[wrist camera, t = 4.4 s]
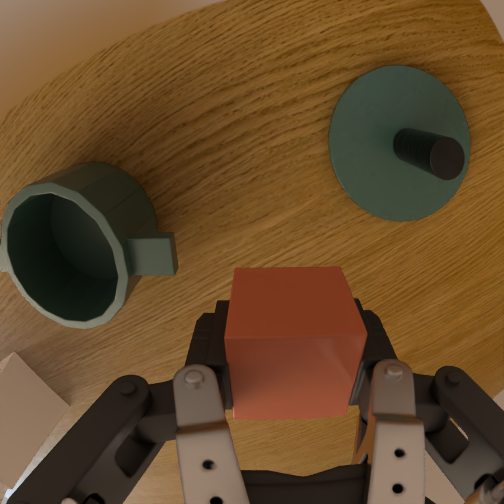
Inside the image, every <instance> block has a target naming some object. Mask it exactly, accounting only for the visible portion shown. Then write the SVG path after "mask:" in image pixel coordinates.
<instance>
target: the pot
mask: <svg viewBox="0 0 504 504" xmlns="http://www.w3.org/2000/svg"><path fill="white" fill-rule="evenodd" d="M1 223H2V224H1V239H0V272H9V274H10V277H11V278H12V280H13V281H14V283H15V285H16V286H17V288H18V289H19V291H20V292H21V294H22V295H23V297H24V298H25V299H26V300H27V301H28V302H29V303H30V304H31V305H32V306H34V307H35V308H36V309H37V310H38V311H39V312H40V313H41V314H42V315H44V316H45V317H47V318H49V319H51V320H53V321H55V322H57V323H59V324H61V325H63V326H66V327H72V328H81V329H92V328H94V327H97V326H100V325H103V324H106V323H108V322H110V321H111V320H112V319H113V318H114V316H115V315H116V314H117V313H118V312H119V310H120V309H121V308H122V307H123V306H124V304H125V302H126V301H127V299H128V298H129V296H130V294H131V293H132V291H133V290H134V288H135V286H136V285H137V283H138V282H139V280H140V279H141V277H142V275H175V274H176V272H177V270H178V268H179V267H178V260H177V252H176V245H175V237H174V232H158V229H157V221H156V216H155V212H154V209H153V206H152V204H151V202H150V200H149V198H148V196H147V195H146V193H145V191H144V190H143V189H142V187H141V186H140V185H139V184H138V183H137V182H136V181H135V180H134V179H133V178H132V177H131V176H130V175H129V174H127V173H126V172H124V171H123V170H121V169H119V168H117V167H115V166H113V165H110V164H106V163H101V162H87V163H82V164H78V165H73V166H71V167H68V168H66V169H63V170H61V171H59V172H56V173H54V174H51V175H49V176H47V177H45V178H42V179H40V180H38V181H36V182H33V183H31V184H29V185H27V186H26V187H24V188H23V189H22V190H21V191H20V192H19V193H18V194H16V195H15V196H14V197H13V198H12V199H11V200H10V201H9V204H8V206H7V209H6V212H5V214H4V217H3V220H2V222H1Z"/></svg>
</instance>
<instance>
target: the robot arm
mask: <svg viewBox="0 0 504 504" xmlns="http://www.w3.org/2000/svg"><path fill="white" fill-rule="evenodd" d="M354 301H355V303H356V305H357V308H358V310H359V313H360V315H361V318H362V320H363V323H364V326H365V328H366V331H367V339H366V343H365V347H364V351H363V355H362V358H361V361H360V365H359V369H358V373H357V376H356V380H355V384H354V387H353V391H352V394H351V397H350V401H349V406H353V405H359V409H360V412H359V415H358V419H357V427H356V436H355V444H354V452H353V458H352V463H351V465H345V466H338V467H335V468H332V469H329V470H326V471H323V472H319V473H316V474H313V475H309V476H304V477H302V476H295V475H290V474H284V473H279V472H273V471H268V470H240V467H239V463H238V459H237V456H236V452H235V448H234V444H233V440H232V437H231V433H230V429H229V425H228V423H227V421H226V417H225V409H233V405H232V396H231V387H230V378H229V369H228V362H227V359H226V349H225V340H224V337H225V330H226V323H227V316H228V310H229V303H230V300H218V301H217V304H216V309H215V313H204V314H203V315H202V316H201V317H200V318H199V319H198V320H197V321H196V325H195V329H194V332H193V336H192V340H191V344H190V347H189V351H188V355H187V359H186V362H185V366H184V367H183V368H181V369H180V370H179V371H177V372H176V374H175V375H174V378H173V379H172V380H169V381H166V382H161V383H155V384H149V385H148V383H147V381H146V380H145V379H144V378H142V377H140V376H137V375H126V376H122V377H120V378H118V379H116V380H115V381H114V382H113V383H112V384H111V385H110V386H109V387H108V388H107V389H106V390H105V391H104V392H103V393H102V395H101V396H100V397H99V398H98V399H97V400H96V401H95V402H94V403H93V404H92V406H91V407H90V408H89V409H88V410H87V411H86V412H85V413H84V414H83V416H82V417H81V418H80V419H79V420H78V421H77V422H76V423H75V424H74V425H73V427H72V428H71V429H70V430H69V431H68V432H67V433H66V434H65V435H64V437H63V438H62V439H61V440H60V441H59V442H58V443H57V444H56V446H55V447H54V448H53V449H52V450H51V451H50V452H49V453H48V454H47V456H46V457H45V458H44V459H43V460H42V461H41V462H40V463H39V465H38V466H37V467H36V468H35V469H34V470H33V471H32V473H31V474H30V475H29V476H28V477H27V478H26V479H25V480H24V482H23V483H22V484H21V485H20V486H19V487H18V488H17V490H16V491H15V492H14V493H13V494H12V495H11V496H10V498H9V499H8V501H7V503H6V504H123V502H124V501H125V499H126V498H127V497H128V495H129V494H130V492H131V491H132V490H133V488H134V487H135V485H136V484H137V482H138V481H139V480H140V478H141V477H142V475H143V474H144V473H145V471H146V470H147V468H148V467H149V465H150V464H151V462H152V461H153V460H154V458H155V457H156V455H157V454H158V452H159V451H160V449H161V448H162V446H163V445H164V444H165V442H166V441H169V440H175V439H176V447H177V455H178V463H179V470H180V477H181V484H182V491H183V497H184V504H435V503H434V502H433V501H431V500H430V499H429V498H427V497H425V450H426V451H427V452H428V454H429V455H430V456H431V457H432V459H433V460H434V462H435V463H436V464H437V465H438V467H439V468H440V469H441V471H442V472H443V473H444V474H445V476H446V477H447V478H448V480H449V481H450V482H451V484H452V485H453V486H454V488H455V489H456V490H457V492H458V493H459V494H460V495H461V497H462V498H463V499H464V501H465V503H464V504H504V411H503V410H502V409H501V408H500V407H499V406H498V405H497V404H496V403H495V402H494V401H493V400H492V399H491V398H490V397H489V396H488V395H487V394H486V393H485V392H484V391H483V390H482V389H481V388H480V387H479V386H478V385H477V384H476V383H475V382H474V381H473V380H472V379H471V378H470V377H469V376H468V375H467V374H466V373H465V372H464V371H463V370H461V369H460V368H457V367H454V366H444V367H442V368H440V369H438V371H437V372H436V374H435V376H429V375H421V374H416V373H413V372H412V370H411V368H410V367H409V366H408V365H407V364H406V363H405V362H403V361H400V360H398V359H397V356H396V354H395V352H394V350H393V347H392V345H391V343H390V340H389V338H388V336H387V335H386V332H385V329H384V328H383V325H382V323H381V321H380V318H379V317H378V316H377V315H376V314H375V313H373V312H372V311H371V310H363V308H362V306H361V303H360V301H359V299H358V298H354ZM451 417H452V419H453V420H454V421H455V422H456V423H457V424H458V425H459V427H460V428H461V429H462V430H463V431H464V432H465V433H466V435H467V437H468V440H469V441H468V440H467V439H466V438H465V436H464V435H463V434H462V433H461V432H460V431H459V429H458V428H457V427H456V426H455V425H454V424H453V423H452V421H451V420H450V419H451Z"/></svg>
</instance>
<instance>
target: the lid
mask: <svg viewBox="0 0 504 504" xmlns="http://www.w3.org/2000/svg"><path fill="white" fill-rule="evenodd" d="M328 147H329V155H330V160H331V164H332V167H333V170H334V172H335V175H336V177H337V179H338V181H339V183H340V184H341V186H342V188H343V189H344V190H345V192H346V193H347V194H348V195H349V197H350V198H351V199H352V200H353V201H354V202H355V203H356V204H357V205H358V206H360V207H361V208H362V209H364V210H365V211H367V212H369V213H370V214H372V215H374V216H376V217H379V218H382V219H385V220H390V221H398V222H404V221H413V220H418V219H421V218H424V217H427V216H429V215H431V214H433V213H434V212H436V211H437V210H439V209H440V208H442V207H443V206H444V205H445V204H446V203H447V202H448V201H449V200H450V199H451V198H452V197H453V196H454V194H455V193H456V191H457V190H458V189H459V187H460V185H461V183H462V181H463V179H464V176H465V174H466V171H467V167H468V163H469V157H470V134H469V129H468V124H467V121H466V118H465V115H464V112H463V110H462V108H461V106H460V104H459V103H458V101H457V99H456V98H455V96H454V95H453V94H452V92H451V91H450V90H449V89H448V88H447V87H446V86H445V85H444V84H443V83H442V82H441V81H439V80H438V79H437V78H436V77H434V76H432V75H431V74H429V73H427V72H425V71H422V70H420V69H417V68H414V67H410V66H402V65H391V66H385V67H380V68H377V69H374V70H371V71H369V72H367V73H365V74H363V75H361V76H360V77H359V78H357V79H356V80H355V81H353V82H352V83H351V84H350V85H349V86H348V87H347V88H346V90H345V91H344V92H343V94H342V95H341V97H340V98H339V100H338V102H337V104H336V106H335V108H334V111H333V114H332V116H331V120H330V125H329V134H328Z"/></svg>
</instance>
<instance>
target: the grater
mask: <svg viewBox="0 0 504 504" xmlns="http://www.w3.org/2000/svg"><path fill="white" fill-rule="evenodd" d="M0 369H1V370H0V504H1V502H2V500H3V497H4V495H5V493H6V490H7V488H8V489H13V488H14V486H15V484H16V483H17V481H18V480H19V478H20V477H21V475H22V474H23V472H24V471H25V469H26V468H27V466H28V465H29V463H30V462H31V460H32V459H33V458H34V456H35V455H36V453H37V452H38V450H39V449H40V447H41V446H42V444H43V443H44V442H45V440H46V439H47V437H48V436H49V434H50V433H51V432H52V430H53V429H54V427H55V426H56V425H57V423H58V422H59V420H60V419H61V418H62V416H63V415H64V413H65V412H66V411H67V409H68V408H69V407H70V406H69V405H68V404H67V403H66V402H65V401H64V400H63V399H62V398H60V397H59V396H58V395H57V394H56V393H55V392H54V391H53V390H52V389H51V388H50V387H49V386H48V385H47V384H46V383H45V382H44V381H43V380H42V379H41V378H40V377H39V376H38V375H37V374H36V373H35V372H34V371H33V370H32V369H31V368H30V367H29V366H28V365H27V364H26V363H25V362H24V361H23V360H22V359H21V358H20V357H19V355H18V354H17V353H16V352H15V351H14V352H13V353H11V354H10V355H9V356H7V357H6V358H4V359H3V360H2V361H0Z"/></svg>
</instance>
